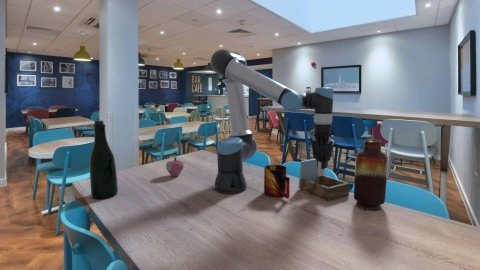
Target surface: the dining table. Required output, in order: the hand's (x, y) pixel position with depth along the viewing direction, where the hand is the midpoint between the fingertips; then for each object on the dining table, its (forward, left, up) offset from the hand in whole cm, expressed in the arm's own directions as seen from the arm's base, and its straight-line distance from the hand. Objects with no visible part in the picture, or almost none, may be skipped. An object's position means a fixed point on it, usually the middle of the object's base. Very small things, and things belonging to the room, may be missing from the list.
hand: (320, 175), depth 121 cm
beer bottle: (-82, -50, -8) cm, 96 cm away
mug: (-15, -13, -8) cm, 21 cm away
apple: (-75, -13, -8) cm, 76 cm away
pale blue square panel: (-6, +3, 0) cm, 7 cm away
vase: (+20, -8, -8) cm, 23 cm away
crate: (+2, -1, -7) cm, 8 cm away
